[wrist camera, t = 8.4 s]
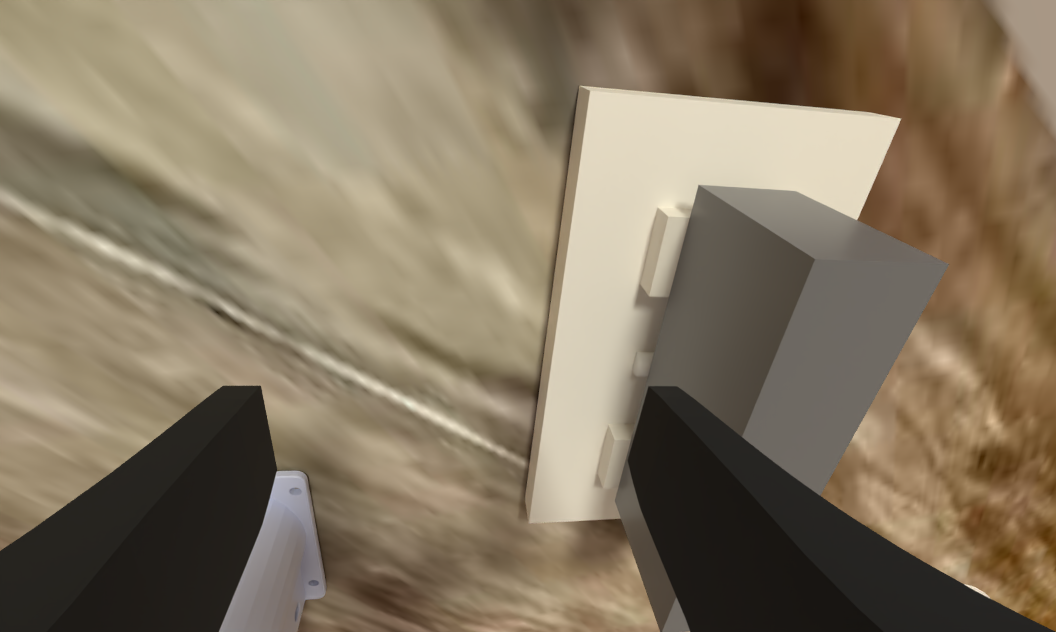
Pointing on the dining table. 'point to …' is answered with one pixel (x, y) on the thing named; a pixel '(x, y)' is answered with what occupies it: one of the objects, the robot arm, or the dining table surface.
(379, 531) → the dining table surface
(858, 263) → the matte grey box
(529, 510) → the plate
